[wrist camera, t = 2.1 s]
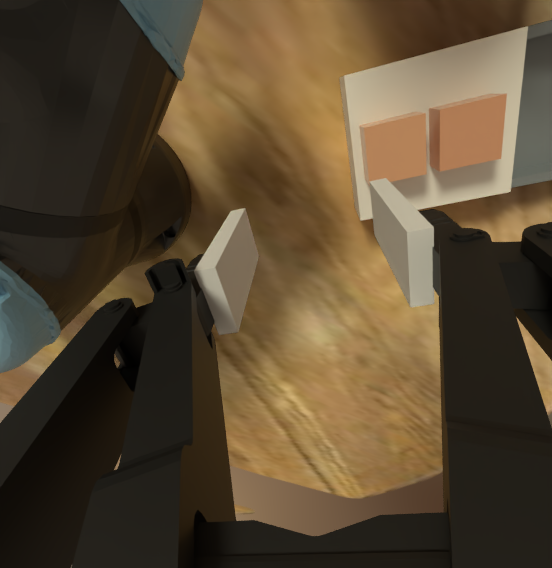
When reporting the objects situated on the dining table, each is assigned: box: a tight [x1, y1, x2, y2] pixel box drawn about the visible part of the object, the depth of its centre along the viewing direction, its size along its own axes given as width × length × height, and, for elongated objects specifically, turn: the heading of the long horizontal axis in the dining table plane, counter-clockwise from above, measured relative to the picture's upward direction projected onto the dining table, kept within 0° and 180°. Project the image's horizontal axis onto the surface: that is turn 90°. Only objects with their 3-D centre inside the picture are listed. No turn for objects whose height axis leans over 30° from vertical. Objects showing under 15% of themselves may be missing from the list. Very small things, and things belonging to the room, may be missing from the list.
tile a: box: [359, 112, 427, 186], centre depth 27 cm, size 4×4×2 cm
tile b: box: [429, 94, 507, 171], centre depth 26 cm, size 4×4×2 cm
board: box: [339, 26, 528, 221], centre depth 29 cm, size 13×12×4 cm
